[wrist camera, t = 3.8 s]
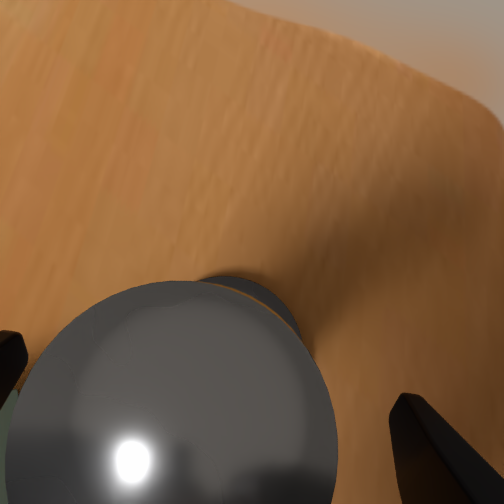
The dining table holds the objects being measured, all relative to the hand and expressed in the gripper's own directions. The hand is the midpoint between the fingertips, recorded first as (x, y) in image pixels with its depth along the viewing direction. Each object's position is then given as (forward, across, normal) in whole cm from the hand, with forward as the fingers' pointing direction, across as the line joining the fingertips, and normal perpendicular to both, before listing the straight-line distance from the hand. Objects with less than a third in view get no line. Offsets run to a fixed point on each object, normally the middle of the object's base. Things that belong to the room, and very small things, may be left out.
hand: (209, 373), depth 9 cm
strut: (+5, 0, -6) cm, 8 cm away
